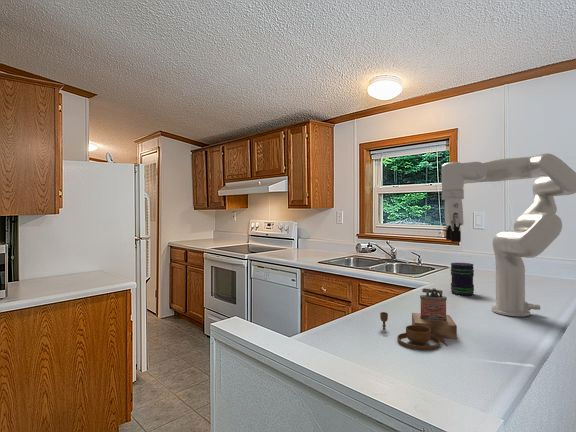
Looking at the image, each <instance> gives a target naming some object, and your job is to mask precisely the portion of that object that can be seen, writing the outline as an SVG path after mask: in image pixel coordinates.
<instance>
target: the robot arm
mask: <svg viewBox="0 0 576 432" xmlns="http://www.w3.org/2000/svg"><path fill="white" fill-rule="evenodd" d="M533 178H534V179H535V178H536V179H535V180H534V182H532V183H533V184H532V194H533V201H532V203H531V204H530V206H529V207H528V208H527V209H525V210H524V211H523V212H522V214H521V215H519V216H518V217H517V219H516V220H515V221H514V224H513V230H503V231H502V230H501V231H499V232H497V233H496V234H495V235H494V236H493V239H492V249H493V252H494V258H495V259H494V260H495V305H492V306H491V311H492V312H494V313H495V314H499V315H503V316H509V317H518V318H519V317H520V318H521V317H529V316H530V315H531V310H534V311H540V310H541V305H540V304H536V303H535V304H534V303H530V302H529V303H528V302H527V301H526V267H525V263H524V260H523V258H527V259H529V258H536V257H538V256H539V255H541V254H542V253H543V252H544V251H546V249H547V248H548V247H549V246H550V245H552V243H553V242H554V241H555V240H556V239H557V238H558V237H559V236H560V234H561V232H562V229H563V221H562V219H561V218H560V216H559V215H557V211H558V207H557V204H556V200H555V197H557V196H570V195H574V194H576V171H575V170H574V169H572V167H570V166H569V165H568V164H567V163H566V162H564V161H563V160H562V159H561V158H560V157H558V156H556V155H555V154H552V153H548V152H547V153H541V154H536V155H530V156H524V157H509V158H500V159H495V160H490V161H486V162H481V161H469V162H459V161H452V162H450V161H449V162H446V163H443V164H442V165H441V200H442V201H444V225H446V227H445V229H446V230H445V240H446V241H451V242H452V243H461V241H462V231H461V229H462V228H461V226H464V224H465V223H464V210H463V209H464V207H463V200H465V190H464V189H465V184H474V183H475V184H476V183H487V182H488V183H489V182H490V183H491V182H503V181H505V182H506V181H513V180H516V181H517V180H526V179H527V180H529V179H533Z"/></svg>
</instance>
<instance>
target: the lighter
mask: <svg viewBox="0 0 576 432" xmlns="http://www.w3.org/2000/svg"><path fill="white" fill-rule="evenodd" d="M443 291H444V290H443V289H437V288H433V287H432V288H429V287H428V288H426V287H425V288H424V287H423V288H422V289H421V292H422V293H425V294H420V295H419V299H420V313H421V315H420V318H421V319H424V320H433V321H447V317H446V315H447V296H444V295H443Z"/></svg>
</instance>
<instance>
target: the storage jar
mask: <svg viewBox="0 0 576 432" xmlns="http://www.w3.org/2000/svg"><path fill="white" fill-rule="evenodd" d="M450 275H451V282H450V291H451V294H452V295H454V294H455V296H458V295H460V296H459V297H473V296H474V293H475V292H474V291H475V288H474V287H475V285H474V276H475V270H474V263H470V262H469V263H468V262H451V263H450ZM472 295H473V296H472Z"/></svg>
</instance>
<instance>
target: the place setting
mask: <svg viewBox="0 0 576 432" xmlns="http://www.w3.org/2000/svg"><path fill="white" fill-rule="evenodd" d="M379 316H380V317H379V318H380V321H381V322H382V330H386V322H388V319H389V313H388V312H386V311H385V312H384V311H382V312H381V311H380V312H379ZM383 337H387V338H389V337H388V335H383ZM396 337H397V341H398V343H399V344H400V345H401V346H403V347H406V348H409V349H412V350H417V351H418V350H419V351H432V350H435V349H438V348H439V347H440V345H441V343H443V344H444V345H445V346H446V347H448V346H449V345H448V344H447V343H446V339H445V338H441V337H434V336H431V329H430V328H428V327H425V326H421V325H412V324H410V325H407V326H405V332H402V333H400V334H398V335H397V336H396ZM405 338H407V339H408V340H409V341H410V343H408V342H405V341H402V340H403V339H405ZM430 341H432V342H434V343H435V344H434V345H426V344H427V343H429V342H430Z"/></svg>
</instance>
